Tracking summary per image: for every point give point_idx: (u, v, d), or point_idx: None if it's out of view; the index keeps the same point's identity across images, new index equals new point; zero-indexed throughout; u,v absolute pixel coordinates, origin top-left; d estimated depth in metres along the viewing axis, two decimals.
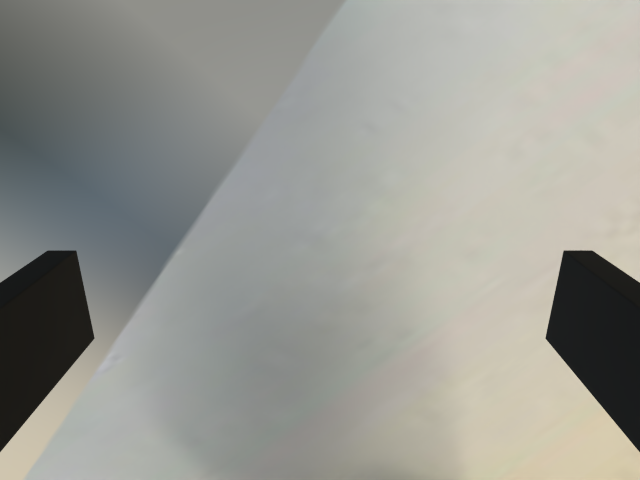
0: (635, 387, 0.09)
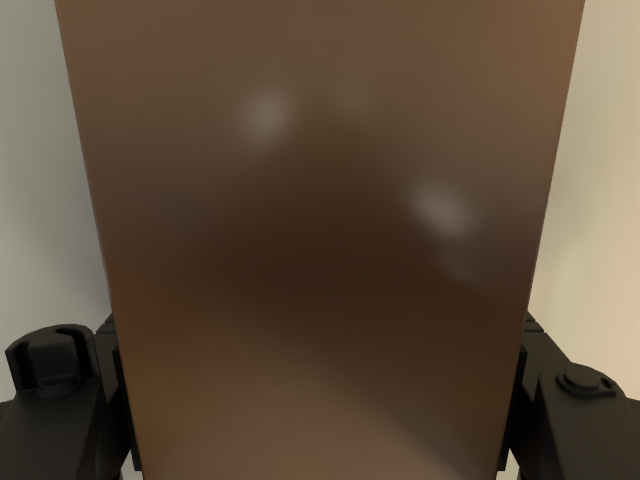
0: None
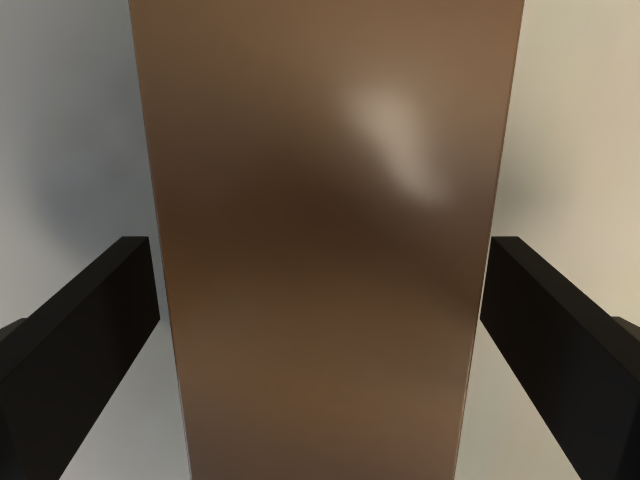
0: (537, 356, 0.10)
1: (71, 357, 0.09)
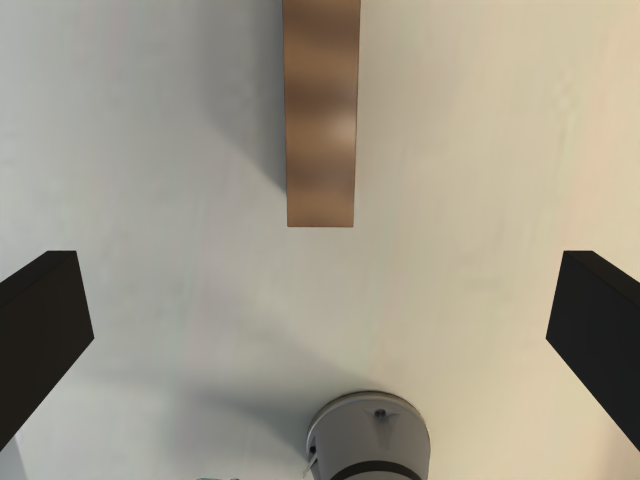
0: (635, 387, 0.09)
1: None
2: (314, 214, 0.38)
